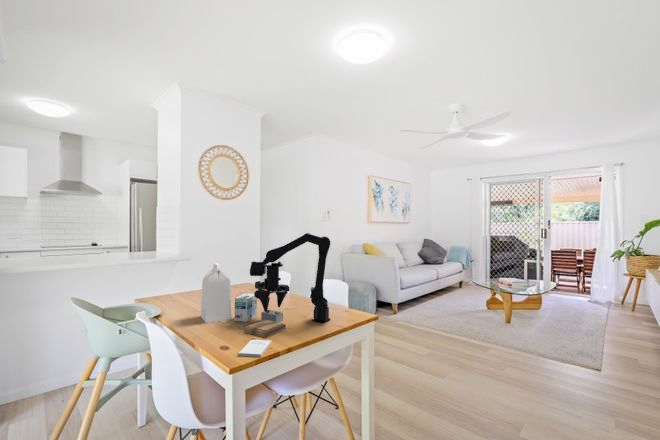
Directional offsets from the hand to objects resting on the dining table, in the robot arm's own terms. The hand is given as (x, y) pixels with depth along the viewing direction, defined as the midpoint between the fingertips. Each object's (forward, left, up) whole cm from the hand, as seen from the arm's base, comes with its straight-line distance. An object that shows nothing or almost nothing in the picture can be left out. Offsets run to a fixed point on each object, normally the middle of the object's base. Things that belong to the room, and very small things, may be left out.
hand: (272, 309), depth 139 cm
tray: (-7, +12, -5) cm, 15 cm away
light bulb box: (+13, +4, -6) cm, 15 cm away
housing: (0, 0, -6) cm, 6 cm away
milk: (+26, +11, -5) cm, 29 cm away
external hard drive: (-17, +28, -6) cm, 33 cm away
